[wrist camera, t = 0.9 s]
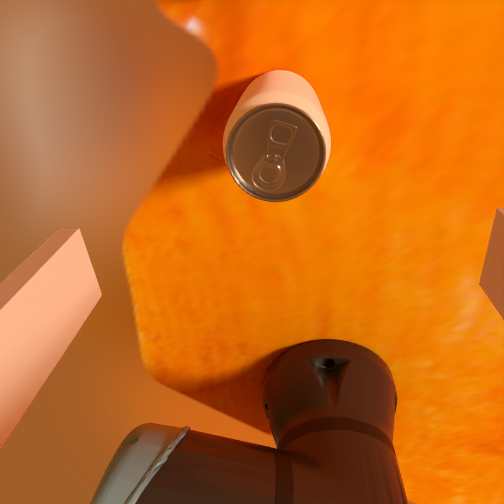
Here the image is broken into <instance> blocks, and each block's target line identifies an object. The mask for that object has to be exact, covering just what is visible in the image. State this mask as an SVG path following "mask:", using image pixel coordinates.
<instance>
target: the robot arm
mask: <svg viewBox="0 0 504 504" xmlns="http://www.w3.org/2000/svg"><path fill="white" fill-rule="evenodd" d="M479 285H480V286H481V288H482V289H483V290H484V292H485V293H486V295H487V296H488V298H489V299H490V301H491V302H492V303H493V305H494V306H495V308H496V309H497V311H498V312H499V313H500V315H501V316H502V318H503V319H504V208H497V210H496V214H495V219H494V223H493V227H492V231H491V236H490V240H489V244H488V249H487V253H486V257H485V262H484V266H483V270H482V274H481V279H480V283H479ZM101 296H102V294H101V291H100V288H99V285H98V282H97V279H96V276H95V273H94V270H93V267H92V264H91V261H90V258H89V256H88V253H87V250H86V247H85V244H84V241H83V238H82V235H81V232H80V229H79V228H72V229H57V230H56V231H55V232H54V233H53V234H52V235H51V236H50V237H49V238H48V239H47V240H46V241H45V242H44V243H42V245H40V246H39V247H38V248H37V249H36V250H35V251H34V252H33V253H32V254H31V255H30V256H29V257H28V258H27V259H26V260H25V261H23V262H22V263H21V264H20V265H19V266H18V267H17V268H16V269H15V270H14V271H13V272H12V273H11V274H10V275H9V276H8V277H7V278H6V279H4V280H3V281H2V282H1V283H0V450H1V448H2V447H3V445H4V444H5V442H6V440H7V439H8V438H9V436H10V434H11V433H12V431H13V430H14V428H15V427H16V425H17V424H18V422H19V421H20V419H21V418H22V416H23V415H24V413H25V412H26V410H27V409H28V407H29V406H30V404H31V403H32V401H33V399H34V398H35V396H36V395H37V393H38V392H39V390H40V389H41V387H42V386H43V384H44V383H45V381H46V380H47V378H48V377H49V375H50V373H51V372H52V370H53V369H54V367H55V366H56V364H57V363H58V361H59V360H60V358H61V357H62V355H63V354H64V352H65V351H66V349H67V348H68V346H69V344H70V343H71V341H72V340H73V338H74V337H75V335H76V334H77V332H78V331H79V329H80V328H81V326H82V325H83V323H84V321H85V320H86V319H87V317H88V315H89V314H90V312H91V311H92V309H93V308H94V306H95V305H96V303H97V302H98V300H99V299H100V297H101ZM263 405H264V409H265V412H266V415H267V417H268V419H269V423H270V427H271V431H272V434H273V437H274V440H275V443H276V446H277V449H275V448H271V447H267V446H263V445H258V444H253V443H249V442H243V441H239V440H235V439H230V438H225V437H221V436H216V435H211V434H207V433H202V432H197V431H193V430H190V427H187V426H185V427H183V428H178V427H171V426H165V425H159V424H153V423H147V424H143V425H140V426H138V427H136V428H135V429H134V430H132V431H131V432H130V433H129V434H128V435H127V436H126V438H125V439H124V440H123V442H122V443H121V445H120V446H119V448H118V449H117V451H116V453H115V454H114V456H113V458H112V460H111V462H110V464H109V465H108V467H107V469H106V471H105V473H104V475H103V477H102V479H101V481H100V483H99V485H98V487H97V489H96V491H95V493H94V496H93V498H92V500H91V502H90V504H408V501H407V497H406V493H405V490H404V486H403V482H402V478H401V474H400V470H399V466H398V463H397V458H396V454H395V450H394V447H393V430H394V416H395V411H396V406H397V392H396V387H395V384H394V381H393V377H392V374H391V371H390V369H389V368H388V366H387V365H386V363H385V362H384V361H383V360H382V359H381V358H380V357H379V356H378V355H377V354H375V353H374V352H372V351H371V350H369V349H367V348H365V347H363V346H360V345H357V344H354V343H351V342H346V341H339V340H319V341H312V342H308V343H304V344H301V345H298V346H295V347H293V348H291V349H289V350H287V351H285V352H284V353H282V354H281V355H280V356H279V357H277V358H276V359H275V360H274V361H273V363H272V364H271V365H270V367H269V368H268V370H267V372H266V374H265V377H264V384H263Z"/></svg>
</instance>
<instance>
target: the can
mask: <svg viewBox="0 0 504 504" xmlns="http://www.w3.org/2000/svg"><path fill="white" fill-rule="evenodd" d="M330 148H331V138H330V132H329V127H328V124H327V121H326V118H325V115H324V113H323V110H322V108H321V105H320V102H319V100H318V98H317V95H316V93H315V91H314V90H313V88H312V87H311V85H310V84H309V83H308V82H307V81H306V80H305V79H304V78H302V77H301V76H299V75H298V74H295V73H293V72H290V71H285V70H275V71H270V72H267V73H264V74H262V75H260V76H259V77H257V78H256V79H255V80H253V81H252V82H251V83H250V84H249V86H248V87H247V88H246V90H245V91H244V93H243V94H242V96H241V98H240V99H239V101H238V103H237V105H236V106H235V108H234V110H233V112H232V114H231V116H230V118H229V120H228V122H227V124H226V127H225V131H224V136H223V154H224V159H225V162H226V165H227V167H228V169H229V171H230V174H231V176H232V177H233V179H234V181H235V182H236V183H237V185H238V186H239V187H240V188H241V189H242V190H244V191H245V192H246V193H248V194H249V195H251V196H253V197H255V198H257V199H260V200H264V201H269V202H283V201H288V200H291V199H294V198H296V197H299V196H300V195H302V194H304V193H305V192H307V191H308V190H309V189H310V188H311V187H312V186H313V185H314V184H315V183H316V181H317V180H318V178H319V177H320V175H321V174H322V172H323V171H324V169H325V167H326V165H327V162H328V159H329V155H330Z"/></svg>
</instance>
